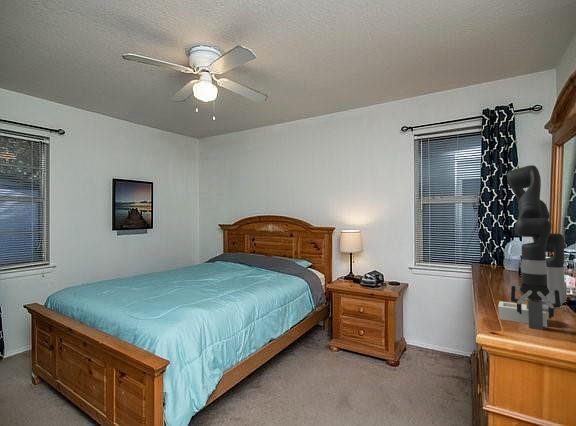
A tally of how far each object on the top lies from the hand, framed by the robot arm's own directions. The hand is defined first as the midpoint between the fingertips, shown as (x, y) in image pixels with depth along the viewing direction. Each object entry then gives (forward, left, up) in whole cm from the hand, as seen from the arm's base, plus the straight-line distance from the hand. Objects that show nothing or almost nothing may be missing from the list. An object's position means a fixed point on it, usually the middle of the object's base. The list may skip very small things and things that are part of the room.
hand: (535, 315), depth 114 cm
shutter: (-7, -6, +1) cm, 9 cm away
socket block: (-4, -9, -4) cm, 11 cm away
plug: (0, 0, -4) cm, 4 cm away
